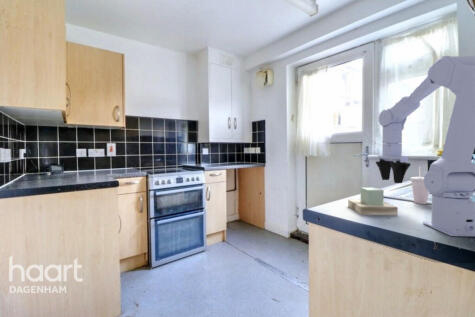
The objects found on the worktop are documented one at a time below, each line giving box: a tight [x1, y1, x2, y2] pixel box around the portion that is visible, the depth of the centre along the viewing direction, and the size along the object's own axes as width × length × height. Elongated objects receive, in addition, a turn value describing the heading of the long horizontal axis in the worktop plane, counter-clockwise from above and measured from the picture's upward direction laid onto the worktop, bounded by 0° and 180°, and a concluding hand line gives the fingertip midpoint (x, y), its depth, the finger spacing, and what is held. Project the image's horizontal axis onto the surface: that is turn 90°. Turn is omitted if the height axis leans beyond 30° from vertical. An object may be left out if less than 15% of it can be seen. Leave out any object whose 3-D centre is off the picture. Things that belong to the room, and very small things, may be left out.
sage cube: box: [360, 187, 385, 205], centre depth 78 cm, size 5×5×5 cm
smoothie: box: [410, 166, 430, 205], centre depth 85 cm, size 6×6×14 cm
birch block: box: [347, 199, 399, 216], centre depth 78 cm, size 11×11×3 cm
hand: (391, 181), depth 81 cm, fingers open, 7 cm apart
